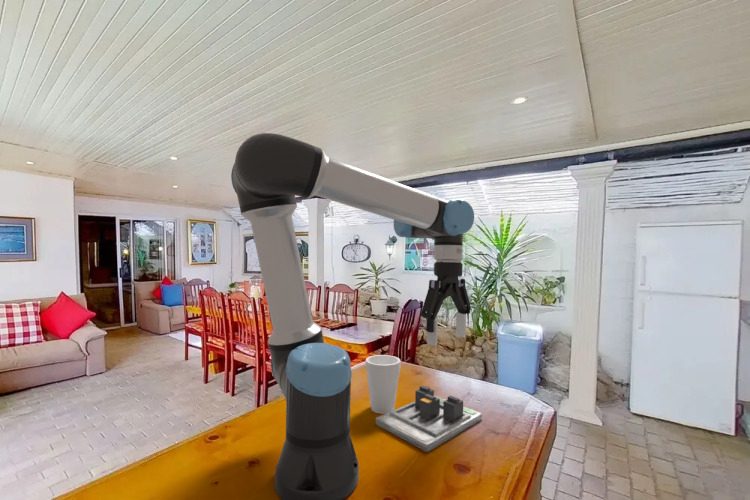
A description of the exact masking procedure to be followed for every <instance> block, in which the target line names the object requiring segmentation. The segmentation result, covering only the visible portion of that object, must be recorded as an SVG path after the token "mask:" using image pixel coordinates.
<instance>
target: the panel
mask: <svg viewBox="0 0 750 500" xmlns="http://www.w3.org/2000/svg"><path fill="white" fill-rule="evenodd" d="M434 397H436V398H439V399H440V414H439V415H437V416H435V417H433V418H431V419H429V420H428V419H426V418H424V417H422V416H420V408H419V407H417V406H415V401H412V402H410V403H408V404H405V405H403V406H401V407H398V408H396V409H394V410H393V411H390V412H389V413H385V414H382V415H379V416H377V417H375V425H376V426H378V427H380V428H382V429H384V430H385V431H387V432H389V433H391V434H392V435H395V436H396V437H399V438H400V439H401V440H403V441H406V442H407V443H409V444H411V445H413V446H414V447H417V448H419V449H421V450H423V451H424V452H427V453H429V452H430V451H432V450H434V449H435V448H437V447H439V446H440V445H442V444H444V443H445V442H447V441H449V440H450V439H452V438H454V437H455V436H458V434H461V433H462V432H463V431H465V430H467V429H469V428H470V427H472V426H473V425H475V424H478V422H481V421H483V414H482V412H479V411H476V410H475V409H471V408H469V407H465V406H463V417H461V418H459V419H457V420H455V421H453V422H452V421H450V420H447V419H445V418H443V402H444V401H445V400H446V398H445V399H444V398H442V397H439V396H437V395H434Z"/></svg>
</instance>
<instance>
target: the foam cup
mask: <svg viewBox="0 0 750 500" xmlns="http://www.w3.org/2000/svg"><path fill="white" fill-rule="evenodd" d="M401 364H402V362H401V358H399V357H397V356H393V355H388V354H378V355H372V356H368V357H366V359H365V371H366V377H367V385H368V387H367V388H368V395H369V403H370V404H369V405H370V410H371V411H372V412H374V413H377V414H382V415H384V414H387V413H389V412H390V411H393V410H395V405H396V399H397V392H398V391H397V390H398V385H399V379H400V378H399V377H400V372H401V368H402V367H401V366H402V365H401Z"/></svg>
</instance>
